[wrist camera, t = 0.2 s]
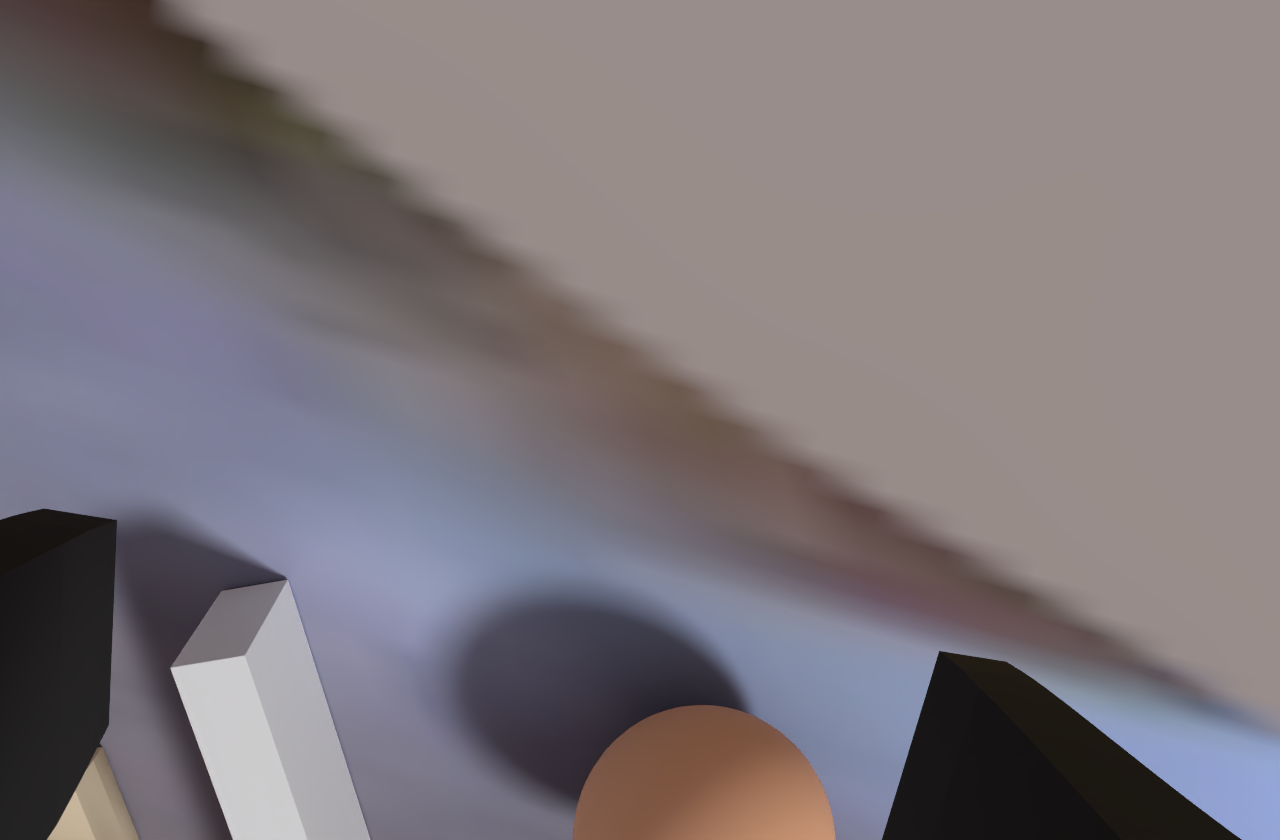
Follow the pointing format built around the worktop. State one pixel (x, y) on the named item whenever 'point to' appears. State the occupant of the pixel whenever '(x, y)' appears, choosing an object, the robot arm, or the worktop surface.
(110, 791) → the tray
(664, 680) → the worktop surface
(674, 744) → the ball
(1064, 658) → the worktop surface
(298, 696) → the bar
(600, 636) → the worktop surface
